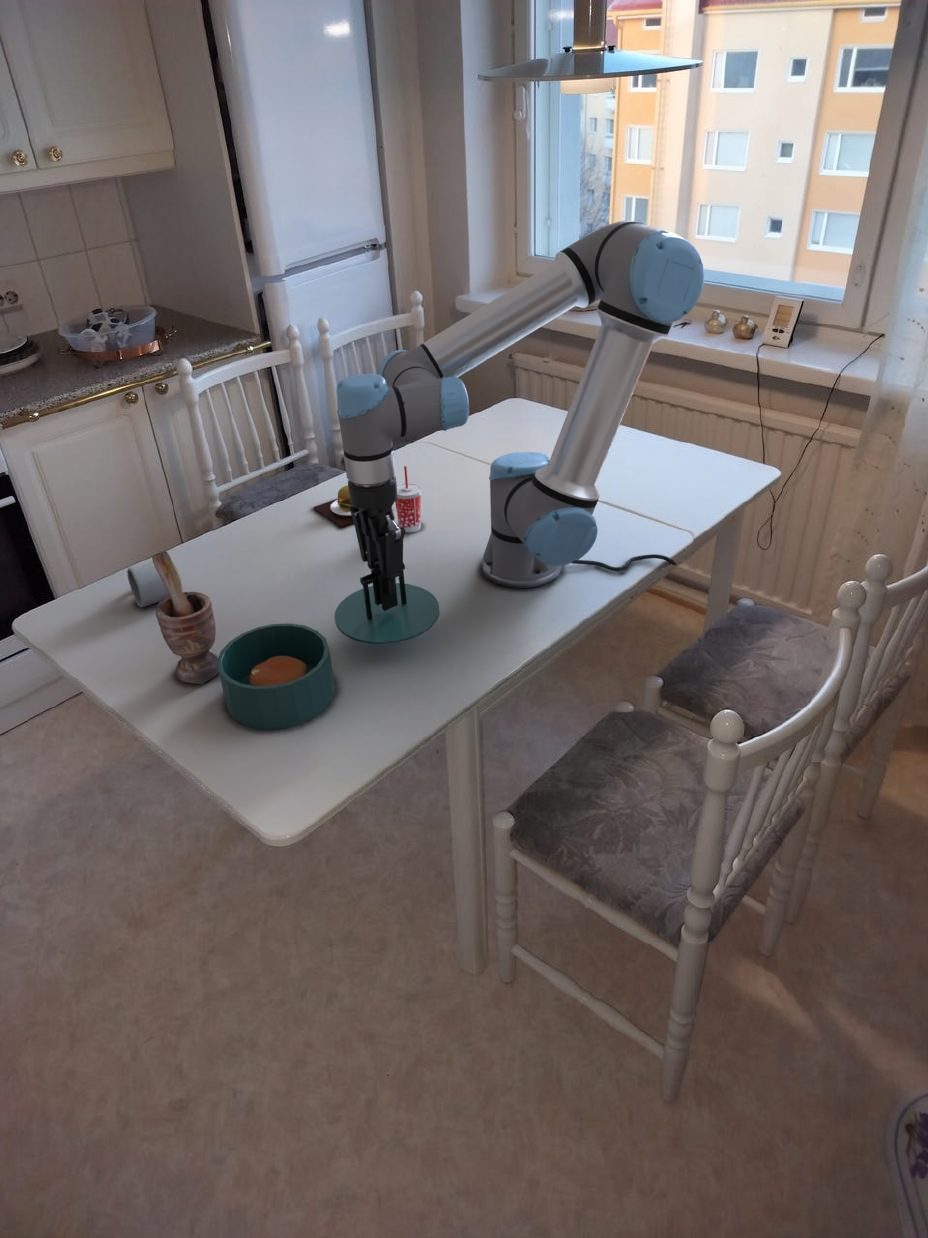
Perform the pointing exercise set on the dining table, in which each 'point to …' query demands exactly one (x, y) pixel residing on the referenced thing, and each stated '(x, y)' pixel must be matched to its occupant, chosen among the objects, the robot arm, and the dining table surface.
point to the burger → (277, 671)
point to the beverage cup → (409, 505)
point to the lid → (386, 613)
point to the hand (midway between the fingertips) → (386, 604)
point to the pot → (282, 700)
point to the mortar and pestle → (186, 625)
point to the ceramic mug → (148, 584)
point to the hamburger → (338, 509)
